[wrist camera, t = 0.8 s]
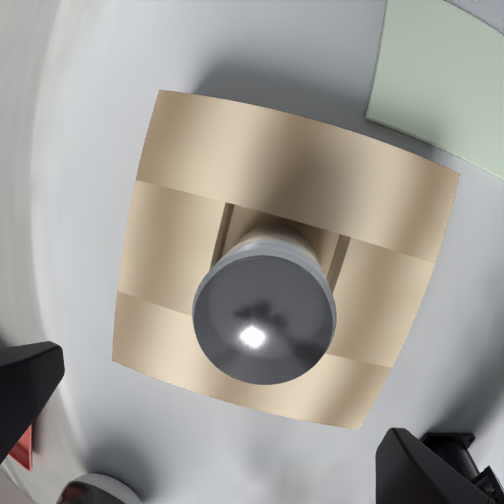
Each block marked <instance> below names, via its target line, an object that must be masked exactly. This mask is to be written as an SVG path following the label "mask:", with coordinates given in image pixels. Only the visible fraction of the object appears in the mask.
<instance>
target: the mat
mask: <svg viewBox="0 0 504 504" xmlns="http://www.w3.org/2000/svg"><path fill="white" fill-rule="evenodd" d="M365 119H367V120H370V121H373V122H375V123H378V124H381V125H384V126H386V127H389V128H392V129H394V130H397V131H400V132H402V133H405V134H407V135H410V136H412V137H415V138H417V139H419V140H422V141H424V142H426V143H429V144H431V145H433V146H436V147H438V148H440V149H442V150H444V151H447V152H449V153H451V154H453V155H455V156H457V157H459V158H461V159H463V160H465V161H467V162H469V163H471V164H473V165H475V166H477V167H479V168H481V169H483V170H485V171H487V172H489V173H491V174H492V175H494V176H496V177H498V178H500V179H501V180H503V181H504V35H502V34H501V33H499V32H498V31H496V30H495V29H493V28H492V27H490V26H489V25H487V24H485V23H484V22H482V21H480V20H479V19H477V18H475V17H474V16H472V15H470V14H468V13H466V12H465V11H463V10H461V9H459V8H457V7H455V6H453V5H452V4H450V3H448V2H446V1H444V0H387V1H386V8H385V15H384V22H383V28H382V35H381V41H380V46H379V52H378V58H377V63H376V68H375V74H374V79H373V84H372V89H371V93H370V98H369V103H368V108H367V112H366V117H365Z"/></svg>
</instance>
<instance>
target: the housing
mask: <svg viewBox="0 0 504 504" xmlns="http://www.w3.org/2000/svg"><path fill="white" fill-rule="evenodd" d="M459 175H460V174H459V173H457V172H455V171H453V170H450V169H448V168H446V167H444V166H441V165H439V164H437V163H435V162H432V161H430V160H428V159H425V158H423V157H420V156H418V155H416V154H413V153H411V152H408V151H405V150H403V149H400V148H398V147H395V146H392V145H390V144H387V143H384V142H382V141H379V140H376V139H373V138H370V137H367V136H364V135H361V134H358V133H355V132H352V131H349V130H346V129H343V128H340V127H337V126H333V125H330V124H327V123H323V122H320V121H316V120H313V119H309V118H305V117H302V116H298V115H294V114H290V113H286V112H282V111H278V110H274V109H269V108H265V107H260V106H256V105H251V104H246V103H241V102H236V101H231V100H226V99H220V98H215V97H209V96H202V95H196V94H189V93H182V92H175V91H166V90H159V93H158V96H157V100H156V103H155V106H154V110H153V113H152V117H151V120H150V124H149V128H148V131H147V135H146V139H145V143H144V147H143V151H142V155H141V159H140V163H139V168H138V172H137V177H136V181H135V186H134V191H133V196H132V201H131V206H130V211H129V217H128V222H127V228H126V234H125V240H124V246H123V253H122V260H121V267H120V275H119V283H118V292H117V301H116V311H115V323H114V336H113V352H112V361H114V362H117V363H119V364H121V365H124V366H126V367H128V368H131V369H133V370H136V371H138V372H141V373H143V374H146V375H148V376H151V377H154V378H156V379H159V380H162V381H164V382H167V383H170V384H173V385H176V386H178V387H181V388H184V389H187V390H190V391H193V392H196V393H199V394H203V395H206V396H209V397H212V398H215V399H219V400H222V401H226V402H229V403H233V404H236V405H240V406H243V407H247V408H251V409H255V410H259V411H263V412H267V413H271V414H275V415H280V416H284V417H289V418H293V419H298V420H303V421H308V422H314V423H319V424H325V425H331V426H337V427H343V428H350V429H357V430H358V429H359V427H360V426H361V424H362V422H363V421H364V419H365V417H366V416H367V414H368V412H369V411H370V409H371V407H372V405H373V403H374V402H375V400H376V398H377V396H378V394H379V393H380V391H381V389H382V387H383V385H384V383H385V381H386V379H387V377H388V375H389V373H390V371H391V369H392V367H393V365H394V363H395V361H396V359H397V357H398V355H399V353H400V351H401V349H402V347H403V344H404V342H405V340H406V338H407V336H408V333H409V331H410V329H411V326H412V324H413V322H414V319H415V317H416V314H417V312H418V310H419V307H420V305H421V302H422V299H423V297H424V294H425V292H426V289H427V286H428V284H429V281H430V278H431V275H432V272H433V269H434V266H435V264H436V261H437V257H438V254H439V251H440V248H441V245H442V242H443V238H444V235H445V231H446V228H447V224H448V221H449V217H450V213H451V210H452V206H453V202H454V198H455V193H456V189H457V185H458V180H459ZM267 223H281V224H286V225H289V226H292V227H294V228H296V229H297V230H299V231H300V232H302V233H303V234H304V235H305V236H306V237H307V238H308V240H309V241H310V242H311V244H312V245H313V248H314V250H315V252H316V255H317V257H318V259H319V262H320V264H321V267H322V269H323V272H324V274H325V277H326V279H327V282H328V284H329V287H330V289H331V292H332V294H333V297H334V301H335V304H336V312H337V323H336V329H335V334H334V337H333V340H332V342H331V344H330V346H329V348H328V349H327V351H326V352H325V354H324V355H323V356H322V358H321V359H320V360H319V361H318V363H317V364H316V365H315V366H314V367H313V368H311V369H310V370H309V371H308V372H306V373H305V374H303V375H302V376H300V377H298V378H296V379H293V380H291V381H288V382H284V383H280V384H273V385H257V384H250V383H246V382H243V381H240V380H237V379H235V378H232V377H230V376H228V375H227V374H225V373H223V372H222V371H221V370H219V369H218V368H217V367H216V366H215V365H214V364H213V363H212V362H211V361H210V360H209V359H208V358H207V357H206V355H205V354H204V352H203V351H202V349H201V347H200V345H199V343H198V341H197V338H196V334H195V330H194V327H193V320H192V307H193V300H194V297H195V293H196V291H197V289H198V286H199V284H200V283H201V281H202V279H203V278H204V277H205V275H206V274H207V273H208V272H209V271H210V270H211V269H212V267H213V266H214V265H215V264H216V263H217V262H218V261H219V260H220V259H221V258H222V257H223V256H224V255H225V254H226V253H227V252H228V251H229V250H230V249H231V248H232V247H233V246H234V245H235V244H236V243H237V242H238V241H239V240H240V239H241V238H242V237H243V236H244V235H245V234H246V233H247V232H248V231H250V230H251V229H253V228H255V227H257V226H260V225H263V224H267Z"/></svg>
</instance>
